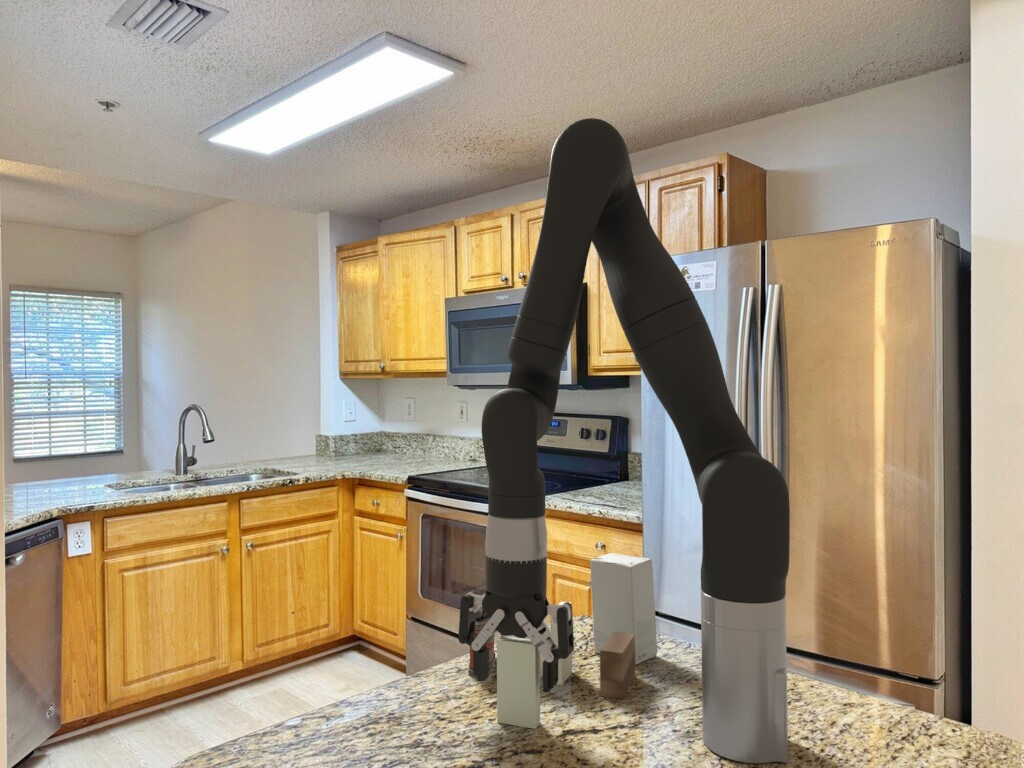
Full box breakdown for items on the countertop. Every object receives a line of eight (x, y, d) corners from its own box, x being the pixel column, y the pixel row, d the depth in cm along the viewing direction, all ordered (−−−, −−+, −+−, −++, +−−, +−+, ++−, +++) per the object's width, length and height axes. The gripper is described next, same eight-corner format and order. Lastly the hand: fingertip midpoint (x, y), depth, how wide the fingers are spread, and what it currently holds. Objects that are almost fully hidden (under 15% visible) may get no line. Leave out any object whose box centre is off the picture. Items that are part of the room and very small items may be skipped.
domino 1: (502, 716, 88) (501, 635, 88) (540, 723, 86) (539, 640, 86) (497, 722, 87) (496, 639, 87) (535, 728, 85) (535, 644, 85)
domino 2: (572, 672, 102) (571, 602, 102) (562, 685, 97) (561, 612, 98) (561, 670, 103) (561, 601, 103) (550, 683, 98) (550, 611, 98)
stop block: (635, 676, 100) (634, 634, 100) (622, 699, 93) (622, 653, 93) (614, 673, 101) (613, 631, 101) (600, 695, 94) (599, 650, 94)
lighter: (487, 677, 100) (486, 606, 100) (463, 676, 101) (463, 605, 101) (499, 657, 108) (499, 591, 108) (477, 655, 109) (477, 590, 109)
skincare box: (658, 656, 108) (657, 558, 108) (634, 667, 104) (633, 565, 104) (614, 643, 114) (613, 550, 114) (590, 652, 110) (589, 556, 110)
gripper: (580, 550, 88) (579, 682, 87) (475, 540, 93) (474, 665, 93) (562, 563, 81) (561, 707, 80) (450, 552, 86) (448, 687, 86)
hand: (514, 684), depth 86 cm, fingers open, 8 cm apart
